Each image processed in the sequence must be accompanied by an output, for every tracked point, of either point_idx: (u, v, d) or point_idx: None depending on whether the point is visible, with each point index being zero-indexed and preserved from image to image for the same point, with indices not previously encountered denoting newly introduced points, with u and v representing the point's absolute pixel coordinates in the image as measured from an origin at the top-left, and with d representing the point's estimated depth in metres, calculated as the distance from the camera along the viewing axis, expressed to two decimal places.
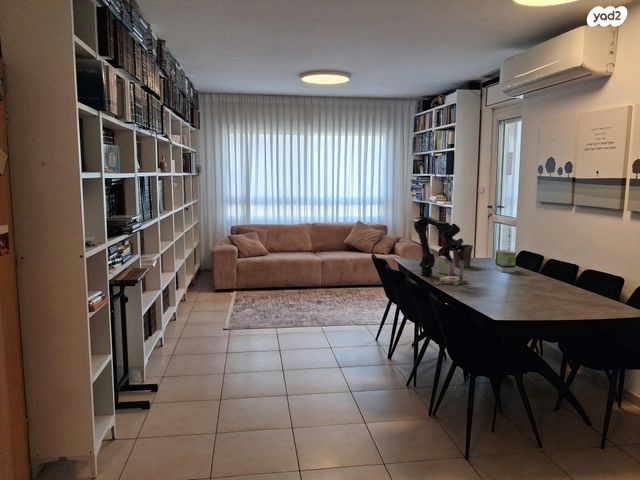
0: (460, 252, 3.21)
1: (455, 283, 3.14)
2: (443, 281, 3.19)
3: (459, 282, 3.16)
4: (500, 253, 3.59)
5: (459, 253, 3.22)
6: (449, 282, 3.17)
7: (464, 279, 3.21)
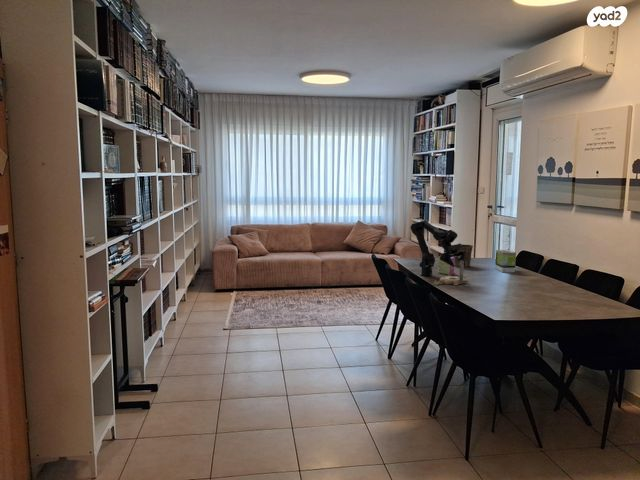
0: (461, 257, 3.23)
1: (455, 283, 3.14)
2: (443, 281, 3.19)
3: (459, 282, 3.16)
4: (500, 253, 3.59)
5: (460, 259, 3.23)
6: (449, 282, 3.17)
7: (464, 279, 3.21)
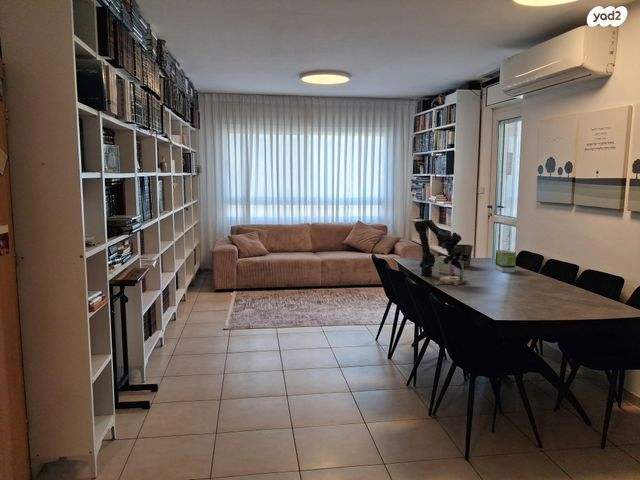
0: None
1: (455, 283, 3.14)
2: (443, 281, 3.19)
3: (459, 282, 3.16)
4: (500, 253, 3.59)
5: None
6: (449, 282, 3.17)
7: (464, 279, 3.21)
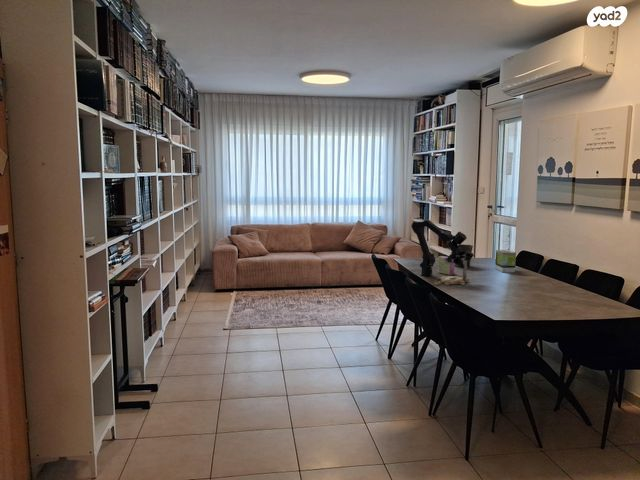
0: (465, 259, 3.22)
1: (462, 283, 3.14)
2: (449, 282, 3.16)
3: None
4: (500, 253, 3.59)
5: None
6: (455, 282, 3.16)
7: None
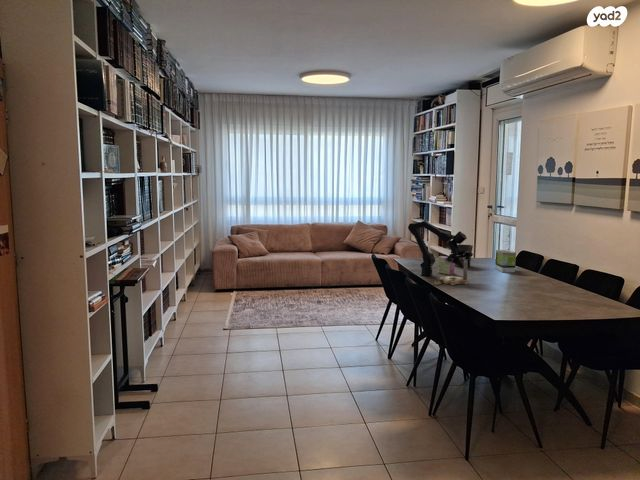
0: None
1: (466, 282, 3.16)
2: None
3: None
4: (500, 253, 3.59)
5: None
6: (459, 282, 3.17)
7: (461, 277, 3.27)
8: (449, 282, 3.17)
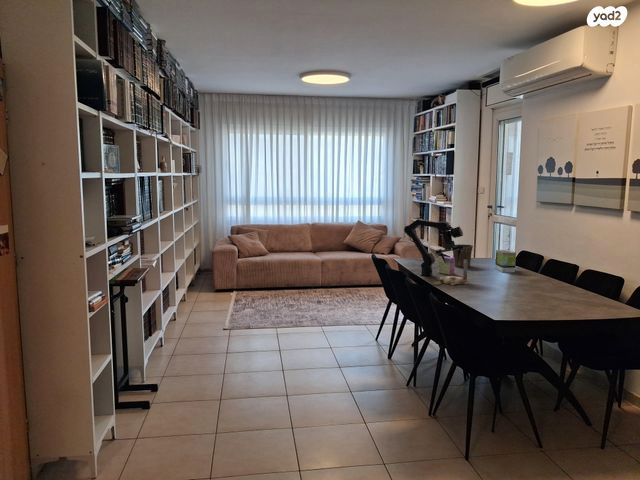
0: (458, 252, 3.31)
1: (466, 282, 3.16)
2: None
3: None
4: (500, 253, 3.59)
5: (458, 253, 3.32)
6: (459, 282, 3.17)
7: (461, 277, 3.27)
8: (449, 282, 3.17)
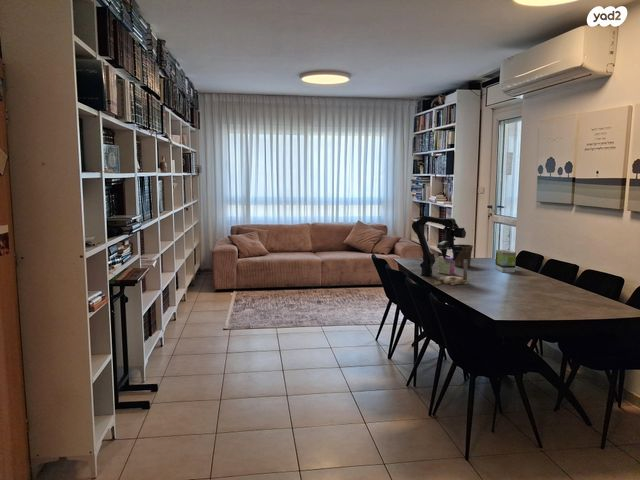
0: None
1: (466, 282, 3.16)
2: None
3: None
4: (500, 253, 3.59)
5: None
6: (459, 282, 3.17)
7: (461, 277, 3.27)
8: (449, 282, 3.17)
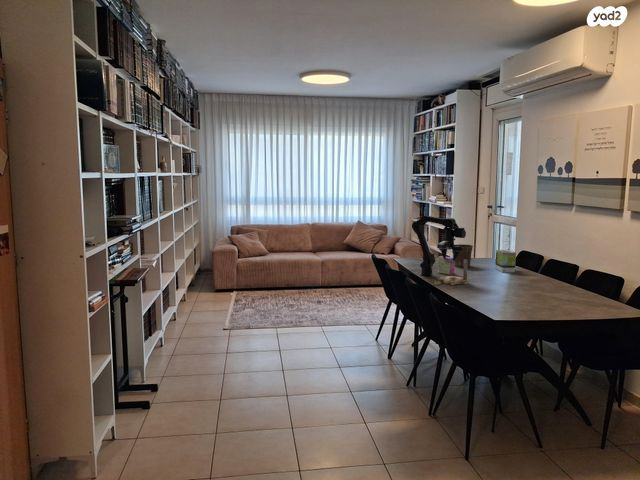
0: None
1: (466, 282, 3.16)
2: None
3: None
4: (500, 253, 3.59)
5: None
6: (459, 282, 3.17)
7: (461, 277, 3.27)
8: (449, 282, 3.17)
